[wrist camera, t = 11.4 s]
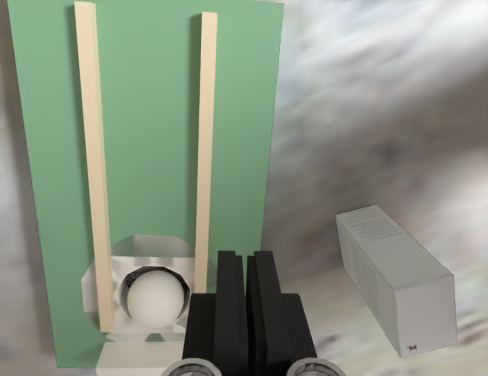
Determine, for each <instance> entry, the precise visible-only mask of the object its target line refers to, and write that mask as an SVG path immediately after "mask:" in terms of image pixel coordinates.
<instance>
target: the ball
mask: <svg viewBox="0 0 488 376" xmlns="http://www.w3.org/2000/svg"><path fill="white" fill-rule="evenodd" d="M183 304H184V291H183V287H182V285H181V283H180V282H179V280H178V279H177V278H176V277H175V276H174V275H172V274H171V273H168V272H166V271H161V270H154V271H149V272H147V273H144V274H142V275H141V276H139V277H138V278H137V279H136V280H135V281H134V282H133V284H132V285H131V287H130V289H129V292H128V296H127V306H128V310H129V313H130V315H131V316H132V318H133V319H134V320H135V321H136V322H137V323H138V324H140V325H142V326H144V327H147V328H161V327H164V326H166V325H168V324H170V323H171V322H173V321H174V320H175V319H176V318H177V317H178V315H179V314H180V312H181V310H182V308H183Z"/></svg>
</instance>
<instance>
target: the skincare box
mask: <svg viewBox="0 0 488 376" xmlns="http://www.w3.org/2000/svg"><path fill="white" fill-rule="evenodd" d="M335 218H336V224H337V230H338V235H339V241H340V247H341V253H342V258H343V264H344V268H345V270H346V271H347V273H348V274H349V276H350V278H351V279H352V281H353V282H354V284H355V286H356V287H357V289H358V291H359V292H360V294H361V295H362V297H363V298H364V300H365V302H366V303H367V305H368V306H369V308H370V310H371V311H372V313H373V315H374V316H375V318H376V320H377V321H378V323H379V324H380V326H381V328H382V329H383V331H384V332H385V334H386V336H387V337H388V339H389V341H390V342H391V344H392V346H393V347H394V349H395V350H396V352H397V353H398V355H399V356H400V357H401V358H406V357H409V356H413V355H417V354H421V353H425V352H429V351H433V350H437V349H441V348H445V347H448V346H452V345H455V344H457V343H458V340H457V322H456V307H455V292H454V275H453V274H452V273H451V272H450V271H449V270H448V269H447V268H445V267H444V266H443V265H442V264H441V263H440V262H439V261H438V260H437V259H436V258H435V257H433V256H432V255H431V254H430V253H429V252H428V251H427V250H426V249H425V248H424V247H423V246H422V245H420V244H419V243H418V242H417V241H416V240H415V239H414V238H413V237H412V236H411V235H410V234H408V233H407V232H406V231H405V230H404V229H403V228H402V227H401V226H400V225H399V224H398V223H396V222H395V221H394V220H393V219H392V218H391V217H390V216H389V215H388V214H387V213H386V212H384V211H383V210H382V209H381V208H380V207H379V206H378V205H372V206H368V207H365V208H361V209H357V210H353V211H349V212H345V213H341V214H337V215H335Z"/></svg>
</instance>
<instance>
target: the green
mask: <svg viewBox="0 0 488 376" xmlns="http://www.w3.org/2000/svg"><path fill="white" fill-rule="evenodd" d="M7 3H8V11H9V18H10V25H11V33H12V40H13V47H14V55H15V62H16V69H17V77H18V84H19V91H20V99H21V106H22V113H23V121H24V128H25V135H26V143H27V150H28V157H29V165H30V172H31V179H32V187H33V194H34V201H35V209H36V216H37V223H38V231H39V238H40V245H41V253H42V260H43V267H44V274H45V282H46V289H47V296H48V304H49V311H50V318H51V326H52V333H53V340H54V348H55V355H56V362H57V368H79V367H96V376H161V375H162V373H163V372H164V371H165V370H166V369H167V368H168V367H169V366H170V365H172V364H174V363H176V362H177V361H180V360H182V353H183V346H184V339H185V333H186V326H187V319H188V312H189V305H190V298H191V294H192V293H216V286H217V263H218V251H235V254H236V255H242V260H243V274H244V288H245V293H246V272H247V256H248V255H252V256H254V251H260V250H261V239H262V229H263V218H264V208H265V198H266V187H267V177H268V166H269V156H270V146H271V135H272V125H273V114H274V104H275V94H276V83H277V73H278V62H279V52H280V42H281V31H282V21H283V10H284V3H272V2H261V1H250V0H7ZM143 266H164V267H166V268H168V269H170V270H172V271H174V272H176V273H178V274H180V275H181V276H182V277H183V279H184V280H185V282H186V283H187V285H188V286H189V289H188V290H187V292H186V293H185V295H184V304H183V308H182V310H181V312H180V314H179V315H178V317H177V318H176V319H175V320H174V321H173V322H171V323H170V324H168V325H166V326H164V327H161V328H147V327H144V326H142V325H140V324H138V323H137V322H136V321H135V320H134V319H133V318H132V316H131V315H130V313H129V310H128V306H127V296H128V292H129V287H128V286H127V285H126V275H127V274H129V273H131V272H133V271H135V270H137V269H139V268H141V267H143Z"/></svg>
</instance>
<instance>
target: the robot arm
mask: <svg viewBox="0 0 488 376" xmlns="http://www.w3.org/2000/svg"><path fill="white" fill-rule="evenodd" d="M161 376H346V375H345V373H344V372H343V371H342V370H341V369H340V368H339V367H338V366H336V365H335V364H333V363H331V362H329V361H327V360H324V359H320V358H317V354H316V351H315V348H314V344H313V341H312V337H311V334H310V330H309V327H308V323H307V320H306V316H305V313H304V309H303V306H302V302H301V299H300V296H299V294H298V293H281V290H280V286H279V281H278V277H277V272H276V267H275V263H274V258H273V254H272V251H254V256H252V255H248V256H247V272H246V293H245V288H244V274H243V260H242V255H236V254H235V251H218V263H217V286H216V293H192V294H191V298H190V305H189V312H188V319H187V326H186V333H185V339H184V346H183V353H182V360H180V361H177V362H176V363H174V364H172V365H170V366H169V367H168V368H167V369H166V370H165V371H164V372H163V373H162V375H161Z"/></svg>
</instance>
